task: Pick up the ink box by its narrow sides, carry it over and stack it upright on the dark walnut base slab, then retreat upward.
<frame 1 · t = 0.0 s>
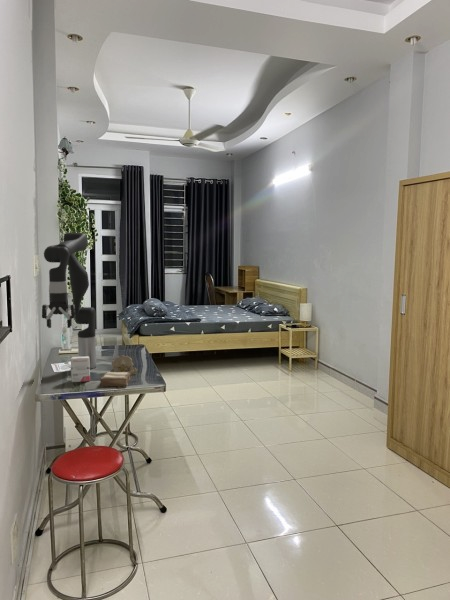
hand: (59, 327, 208), 29 cm above the table, fingers open, 8 cm apart
ceramic model: (123, 373, 243), on the table
base: (116, 382, 225), on the table
ink box: (81, 381, 229), on the table
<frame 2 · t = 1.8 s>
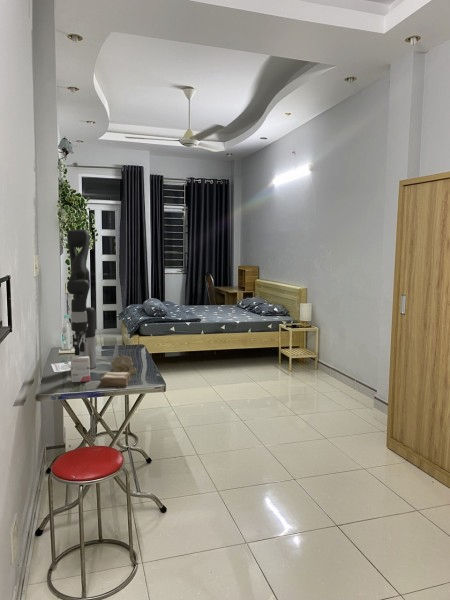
hand: (79, 353, 227), 14 cm above the table, fingers open, 8 cm apart
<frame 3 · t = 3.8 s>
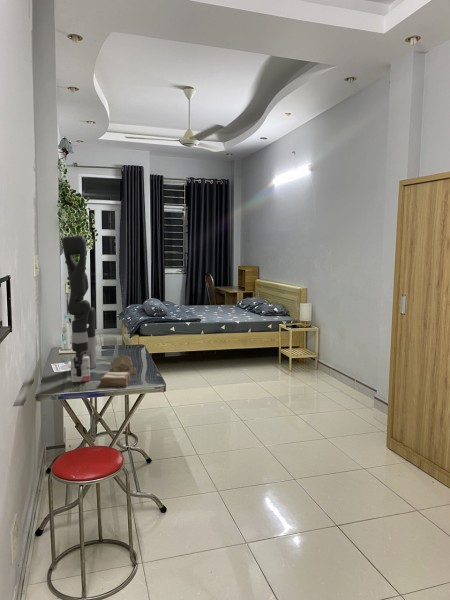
hand: (80, 374, 228), 3 cm above the table, fingers closed on ink box, 5 cm apart
ink box: (80, 381, 229), on the table, touching gripper
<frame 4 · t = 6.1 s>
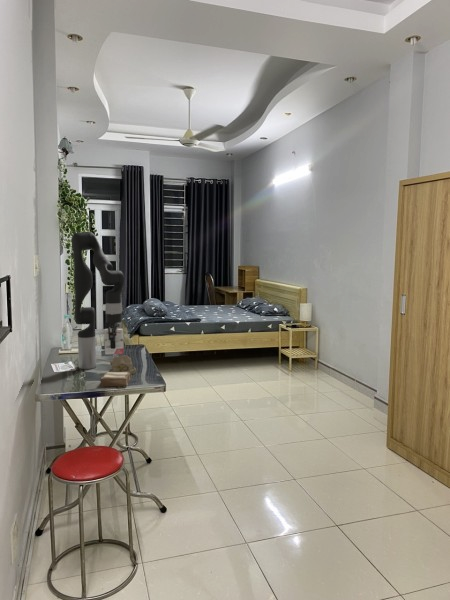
hand: (114, 347, 223), 18 cm above the table, fingers closed on ink box, 5 cm apart
ink box: (114, 353, 224), point 14 cm above the table, touching gripper
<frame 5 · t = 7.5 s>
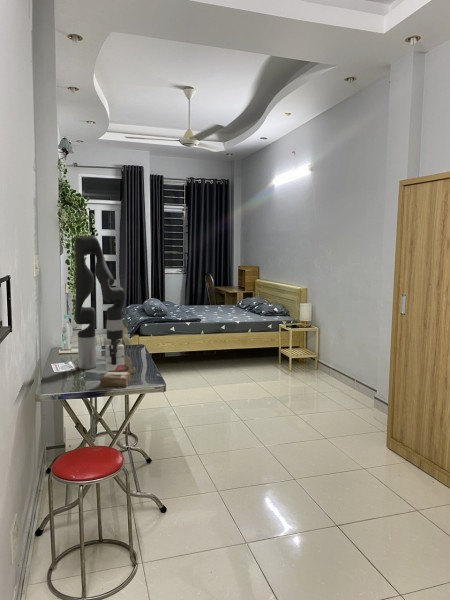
hand: (115, 363, 224), 10 cm above the table, fingers closed on ink box, 5 cm apart
ink box: (115, 369, 225), point 6 cm above the table, touching gripper
when the fingers open (8 cm above the table, at t = 8.8 s): ink box stays where it is, resting on base.
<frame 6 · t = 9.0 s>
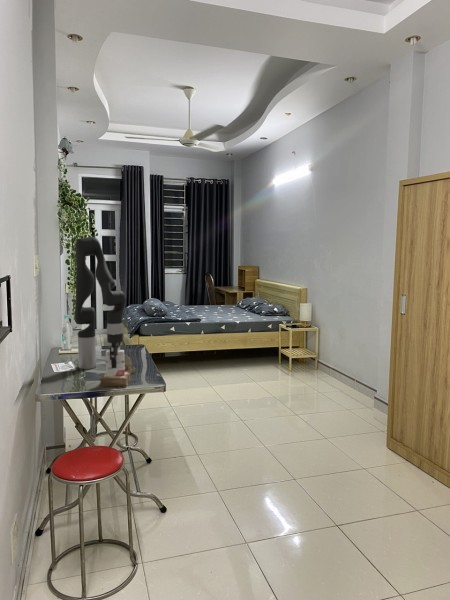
hand: (115, 365, 224), 8 cm above the table, fingers open, 7 cm apart
ink box: (115, 374, 225), point 4 cm above the table, touching base
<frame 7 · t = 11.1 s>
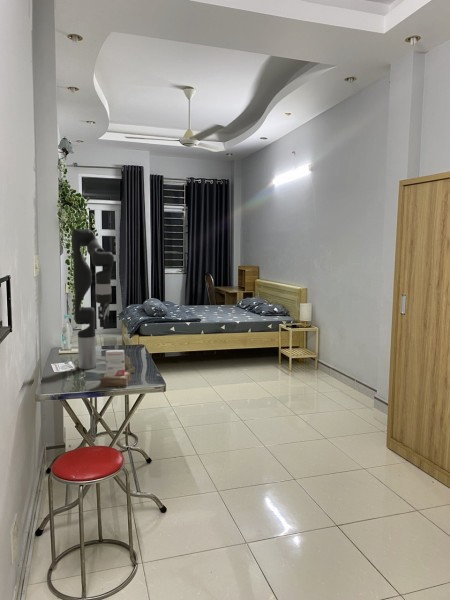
hand: (104, 325, 229), 27 cm above the table, fingers open, 8 cm apart
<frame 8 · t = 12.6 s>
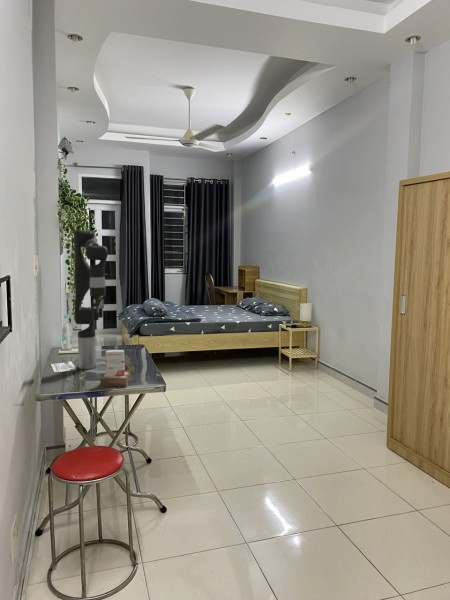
hand: (98, 318, 231), 30 cm above the table, fingers open, 8 cm apart
at the end: ink box inside the target area on the base (0.3 cm from its centre), point 3.8 cm above the base's base; ink box tilted 0°; the gripper is holding nothing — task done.
